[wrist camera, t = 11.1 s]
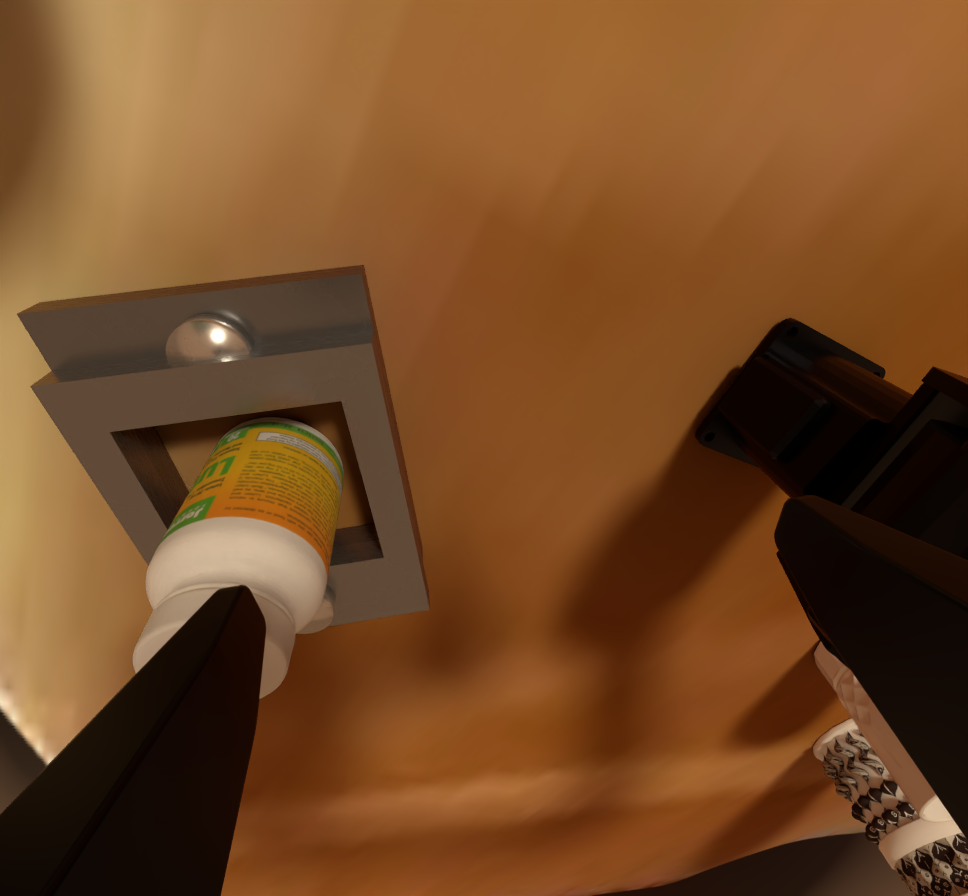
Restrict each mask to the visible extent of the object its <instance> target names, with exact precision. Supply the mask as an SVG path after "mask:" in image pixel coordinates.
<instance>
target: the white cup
mask: <svg viewBox="0 0 968 896" xmlns="http://www.w3.org/2000/svg"><path fill="white" fill-rule="evenodd" d="M814 658H815V662H816V665H817V667H818V668H819V669H820V671H821V672H822V674H823V675H824V677H825V678H826V679H827V681H828V682H829V684H830V685H831V686H832V688H833V689H834V691H836V692H837V696H838V698H839V700H840V701H841V703H842V705H843V706H844V708H845V709H846V711H847V712H848V713H849V714H850V716H851V717H852V719H853V720H854V722H855V724H856V726H857V727H858V729H859V730H860V732H861V733H862V735H863V736H864V738H865V739H866V740H867V742H868V743H869V745H870V746H871V748H872V749H873V750H874V752H875V753H876V755H877V756H878V758H879V759H880V760H881V762H882V763H883V765H884V766H885V768H886V769H887V771H888V772H889V773H890V775H891V776H892V778H893V779H894V781H895V782H896V783H897V785H898V786H899V788H900V789H901V791H902V792H903V794H904V795H905V796H906V798H907V799H908V801H909V802H910V804H911V805H912V807H913V808H914V810H915V811H916V812H917V814H918V815H919V817H920V818H921V819H922V820H924V821H928V822H948V821H954V820H953V819H952V817H951V816H950V814H949V813H948V811H947V810H946V808H945V807H944V805H943V804H942V803H941V801H940V800H939V798H938V797H937V795H936V794H935V792H934V791H933V789H932V788H931V787H930V785H929V784H928V782H927V781H926V779H925V778H924V776H923V775H922V773H921V772H920V771H919V769H918V768H917V766H916V765H915V763H914V762H913V760H912V759H911V757H910V756H909V754H908V753H907V752H906V750H905V749H904V747H903V746H902V744H901V743H900V741H899V740H898V738H897V737H896V736H895V734H894V733H893V731H892V730H891V728H890V727H889V725H888V724H887V722H886V721H885V719H884V718H883V717H882V715H881V714H880V712H879V711H878V709H877V708H876V706H875V705H874V703H873V702H872V701H871V699H870V698H869V696H868V695H867V693H866V692H865V690H864V689H863V687H862V686H861V685H860V683H859V682H858V680H857V679H856V677H855V676H854V674H853V673H852V671H851V670H850V669H849V668H847V667H846V666H845V665H844V664H843V663H841V662H840V661H839V660H838V659H837V658H836V657H835V656H834V655H832V654H831V653H830V652H828V651H827V650H826V649H825V647H824V646H823V644H822V642H821V641H820V643H819V644H818V646H817V648H816V650H815V652H814Z"/></svg>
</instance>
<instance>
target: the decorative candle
mask: <svg viewBox="0 0 968 896" xmlns="http://www.w3.org/2000/svg"><path fill="white" fill-rule="evenodd" d="M813 754H814V755H815V757H816V758H817V759H819V760H821V761H822V762H823V767H824V768H825V769H824V773H825V775H827V776H828V777H831V778H832V779H833V780H835V786H836V792H837V794H838V795H840V796H842V797H844V798H845V799H847V800H849V801H851V802H853V803H854V804H853V803H852V804H853V805H852V816H853V817H854V818H855V819H857V820H860V821H861V822H863V823H867V824H868V825H867V826H866V834H865V836H866V838H867V839H868V840H869V841H871V842H874V843H876V844H877V845H879V849H880V851H881V852H882V854H883V855H884V857H885V858H886V860H887V862H888V863H889V865H890V866H891V868H892V869H894V870H896V871H897V873H898V874H899V876H900V877H901V879H902V880H903V882H904V883H905V885H906V887H907V888H908V889H909V891H910V893H911V894H912V896H968V840H967V839H966V838H965V836H964V835H963V833H962V832H961V830H960V829H959V827H958V826H957V824H956V823H955V822H954V821H948V822H928V821H924V820H922V819H921V818H920V817H919V815H918V814H917V812H916V811H915V810H914V808H913V807H912V805H911V804H910V802H909V801H908V799H907V798H906V796H905V795H904V794H903V792H902V791H901V789H900V788H899V786H898V785H897V783H896V782H895V781H894V779H893V778H892V776H891V775H890V773H889V772H888V771H887V769H886V768H885V766H884V765H883V763H882V762H881V760H880V759H879V758H878V756H877V755H876V753H875V752H874V750H873V749H872V748H871V746H870V745H869V743H868V742H867V740H866V739H865V738H864V736H863V735H862V733H861V732H860V730H859V729H858V727H857V726H856V724H855V722H854V720H853V719H852V718H850V719H848V720H846V721H844V722H842V723H840V724H838V725H836V726H834V727H832V728H831V729H830V730H828V731H827V732H826V733H824V734H823V735H822V736H821V737H819V739H818V740H817V741H816V743H815V744H814V746H813Z"/></svg>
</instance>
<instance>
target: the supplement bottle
mask: <svg viewBox="0 0 968 896" xmlns="http://www.w3.org/2000/svg"><path fill="white" fill-rule="evenodd" d="M343 481H344V470H343V464H342V461H341V458H340V455H339V453H338V452H337V450H336V448H335V447H334V445H333V444H332V443H331V442H330V441H329V440H328V439H327V438H326V437H325V436H324V435H323V434H321V433H320V432H318V431H317V430H315V429H314V428H312V427H310V426H308V425H306V424H304V423H301V422H298V421H295V420H291V419H286V418H278V417H265V418H257V419H252V420H249V421H246V422H243V423H241V424H239V425H237V426H235V427H234V428H232V429H231V430H230V431H228V432H227V433H226V434H225V435H224V436H223V437H222V438H221V440H220V441H219V442H218V444H217V445H216V447H215V448H214V450H213V452H212V453H211V455H210V457H209V459H208V461H207V462H206V464H205V466H204V468H203V469H202V471H201V473H200V475H199V476H198V478H197V480H196V482H195V483H194V485H193V487H192V489H191V490H190V492H189V494H188V496H187V497H186V499H185V501H184V503H183V504H182V506H181V508H180V510H179V511H178V513H177V515H176V516H175V518H174V520H173V522H172V523H171V525H170V527H169V529H168V530H167V532H166V534H165V536H164V537H163V539H162V541H161V543H160V544H159V546H158V548H157V549H156V551H155V554H154V556H153V558H152V560H151V562H150V564H149V567H148V570H147V574H146V592H147V596H148V599H149V602H150V604H151V606H152V608H153V612H152V615H151V616H150V618H149V620H148V622H147V624H146V626H145V628H144V630H143V632H142V634H141V636H140V638H139V640H138V642H137V644H136V647H135V649H134V653H133V667H134V670H135V672H136V673H137V672H138V671H139V670H140V669H141V668H142V667H143V666H144V665H145V664H146V663H147V662H148V661H149V660H150V659H151V658H152V657H153V656H154V655H155V654H156V653H157V652H158V651H159V649H160V648H161V647H162V646H163V645H164V644H165V643H166V642H167V641H168V640H169V639H170V638H171V637H172V636H173V635H174V634H175V633H176V632H177V631H178V630H179V629H180V628H181V627H182V626H183V625H184V624H185V623H186V622H187V620H188V619H189V618H190V617H191V616H192V615H193V614H194V613H195V612H196V611H197V610H198V609H199V608H200V607H201V606H202V605H203V604H204V603H205V602H206V601H207V600H208V599H209V598H210V597H211V596H212V595H213V594H214V593H215V592H216V591H217V590H219V589H221V588H226V587H232V586H238V585H245V586H247V587H248V588H249V589H250V590H251V592H252V594H253V596H254V598H255V600H256V602H257V604H258V605H259V607H260V609H261V611H262V613H263V615H264V618H265V622H266V638H265V648H264V658H263V668H262V677H261V687H260V697H259V699H261V698H263V697H265V696H266V695H268V694H270V693H272V692H273V691H274V690H275V689H276V688H277V687H278V686H279V685H280V684H281V683H282V681H283V680H284V678H285V676H286V674H287V671H288V667H289V663H290V658H291V654H292V650H293V647H294V644H295V634H296V633H297V632H299V631H300V630H301V629H303V628H304V627H305V626H306V625H307V624H308V623H309V622H310V621H311V620H312V619H313V618H314V616H315V615H316V613H317V612H318V610H319V608H320V606H321V604H322V601H323V598H324V594H325V590H326V585H327V580H328V574H329V568H330V561H331V555H332V548H333V542H334V537H335V531H336V525H337V519H338V513H339V507H340V501H341V495H342V489H343Z"/></svg>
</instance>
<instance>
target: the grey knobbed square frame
mask: <svg viewBox="0 0 968 896" xmlns="http://www.w3.org/2000/svg"><path fill="white" fill-rule="evenodd" d="M17 315H18V317H19V318H20V320H21V322H22V323H23V325H24V326H25V328H26V330H27V331H28V333H29V334H30V336H31V338H32V339H33V341H34V343H35V344H36V346H37V347H38V349H39V351H40V352H41V354H42V355H43V357H44V359H45V360H46V362H47V364H48V365H49V367H50V368H51V370H52V371H51V372H50V373H48V374H47V375H46V376H44V377H43V378H41V379H40V380H39V381H37V382H36V383H34V384H33V385H32V386H30V387H31V388H32V390H33V391H34V393H35V394H36V396H37V397H38V399H39V400H40V402H41V403H42V405H43V406H44V408H45V409H46V411H47V412H48V414H49V415H50V417H51V418H52V420H53V422H54V423H55V425H56V426H57V428H58V429H59V431H60V432H61V434H62V435H63V437H64V438H65V440H66V441H67V443H68V444H69V446H70V447H71V449H72V450H73V452H74V453H75V455H76V456H77V458H78V460H79V461H80V463H81V464H82V466H83V467H84V469H85V470H86V472H87V473H88V475H89V476H90V478H91V479H92V481H93V482H94V484H95V485H96V487H97V488H98V490H99V491H100V493H101V494H102V496H103V497H104V499H105V501H106V502H107V504H108V505H109V507H110V508H111V510H112V511H113V513H114V514H115V516H116V517H117V519H118V520H119V522H120V523H121V525H122V526H123V528H124V529H125V531H126V532H127V534H128V535H129V537H130V539H131V540H132V542H133V543H134V545H135V546H136V548H137V549H138V551H139V552H140V554H141V555H142V557H143V558H144V560H145V561H146V563H147V564H148V566H149V564H150V562H151V560H152V558H153V556H154V554H155V551H156V549H157V548H158V546H159V544H160V543H161V541H162V539H163V537H164V536H165V534H166V532H167V530H168V529H169V527H170V525H171V523H172V522H173V520H174V518H175V516H176V515H177V513H178V511H179V510H180V508H181V506H182V504H183V503H184V501H185V499H186V497H187V496H188V494H189V492H188V490H187V488H186V486H185V484H184V483H183V481H182V479H181V477H180V475H179V473H178V471H177V469H176V467H175V466H174V464H173V462H172V460H171V458H170V456H169V454H168V452H167V450H166V449H165V447H164V445H163V443H162V441H161V439H160V437H159V435H158V433H157V432H156V430H155V428H154V426H159V425H166V424H174V423H181V422H189V421H196V420H204V419H211V418H219V417H226V416H234V415H241V414H249V413H256V412H264V411H271V410H278V409H286V408H293V407H301V406H308V405H316V404H323V403H331V402H338V401H341V402H342V406H343V409H344V413H345V417H346V420H347V424H348V428H349V431H350V435H351V439H352V442H353V446H354V450H355V453H356V457H357V461H358V464H359V468H360V472H361V475H362V479H363V483H364V486H365V490H366V494H367V497H368V501H369V505H370V508H371V512H372V516H373V519H374V523H375V524H369V525H362V526H356V527H349V528H343V529H336V531H335V537H334V542H333V548H332V555H331V561H330V568H329V574H328V580H327V585H326V590H325V594H324V598H323V601H322V604H321V606H320V608H319V610H318V612H317V613H316V615H315V616H314V618H313V619H312V620H311V621H310V622H309V623H308V624H307V625H306V626H305V627H304V628H303V629H301V630H300V631H299V632H297V634H310V633H315V632H318V631H321V630H323V629H325V628H326V627H328V626H334V625H340V624H346V623H352V622H358V621H364V620H371V619H377V618H383V617H389V616H395V615H401V614H407V613H413V612H419V611H425V610H430V604H429V589H428V585H427V580H426V575H425V571H424V566H423V552H422V543H421V538H420V533H419V529H418V524H417V519H416V514H415V509H414V504H413V500H412V495H411V490H410V485H409V480H408V476H407V471H406V466H405V461H404V456H403V452H402V447H401V442H400V437H399V432H398V428H397V423H396V418H395V413H394V408H393V404H392V399H391V394H390V389H389V384H388V380H387V375H386V370H385V365H384V360H383V356H382V351H381V346H380V341H379V336H378V332H377V327H376V322H375V317H374V312H373V308H372V303H371V298H370V293H369V288H368V284H367V279H366V274H365V269H364V265H360V266H351V267H343V268H334V269H325V270H317V271H308V272H299V273H291V274H282V275H274V276H265V277H256V278H248V279H239V280H230V281H222V282H213V283H204V284H196V285H187V286H178V287H170V288H161V289H152V290H144V291H135V292H127V293H118V294H109V295H101V296H92V297H83V298H75V299H66V300H57V301H49V302H40V303H38V304H36V305H34V306H32V307H30V308H28V309H26V310H24V311H22V312H20V313H18V314H17Z"/></svg>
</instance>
